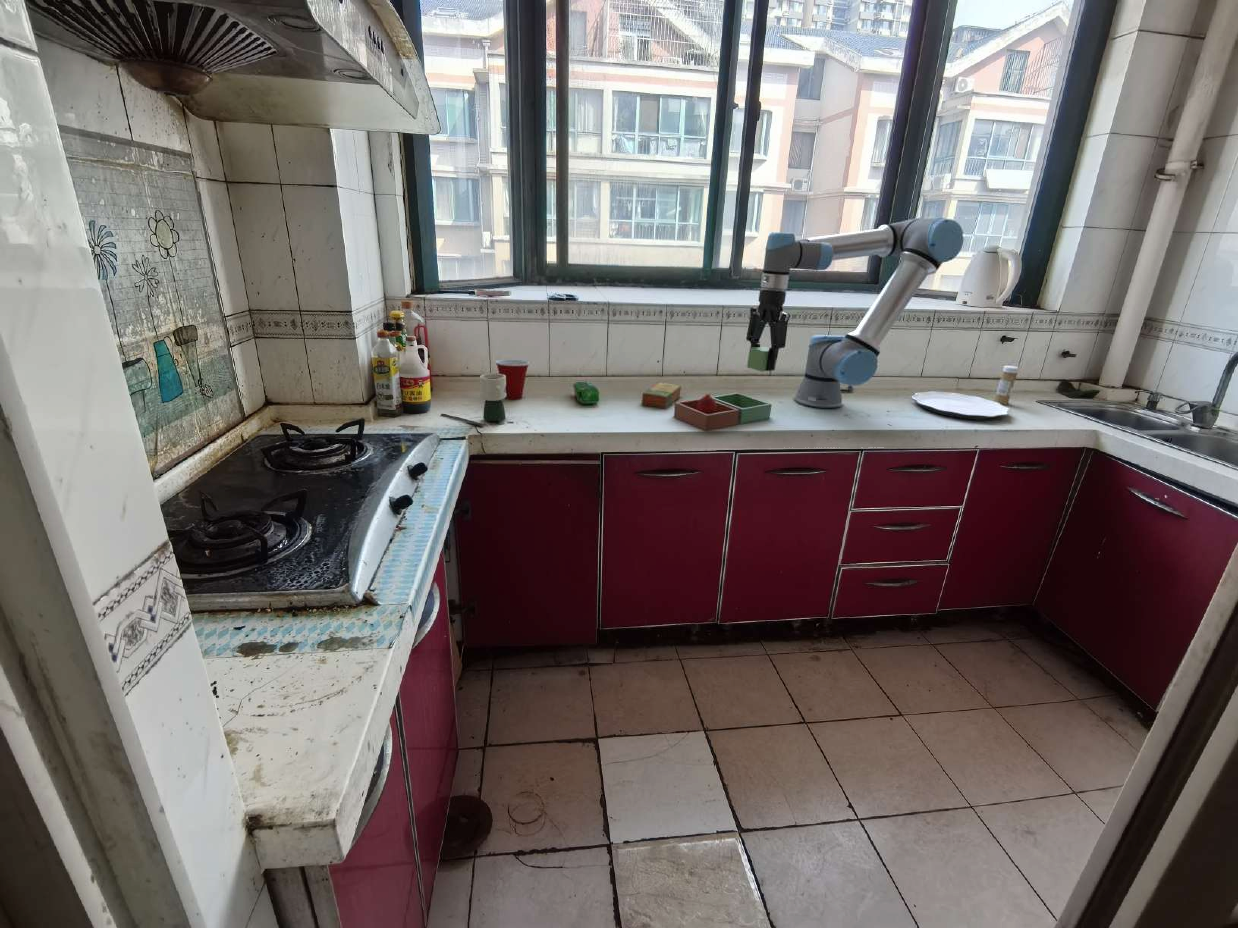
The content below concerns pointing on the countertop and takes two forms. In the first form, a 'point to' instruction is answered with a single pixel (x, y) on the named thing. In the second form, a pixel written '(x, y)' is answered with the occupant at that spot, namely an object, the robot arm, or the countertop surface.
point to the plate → (960, 405)
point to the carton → (661, 395)
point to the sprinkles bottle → (1006, 384)
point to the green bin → (746, 407)
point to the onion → (706, 405)
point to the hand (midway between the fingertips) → (761, 367)
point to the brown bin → (703, 421)
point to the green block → (758, 358)
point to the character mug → (493, 396)
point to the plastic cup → (513, 376)
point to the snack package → (586, 392)
